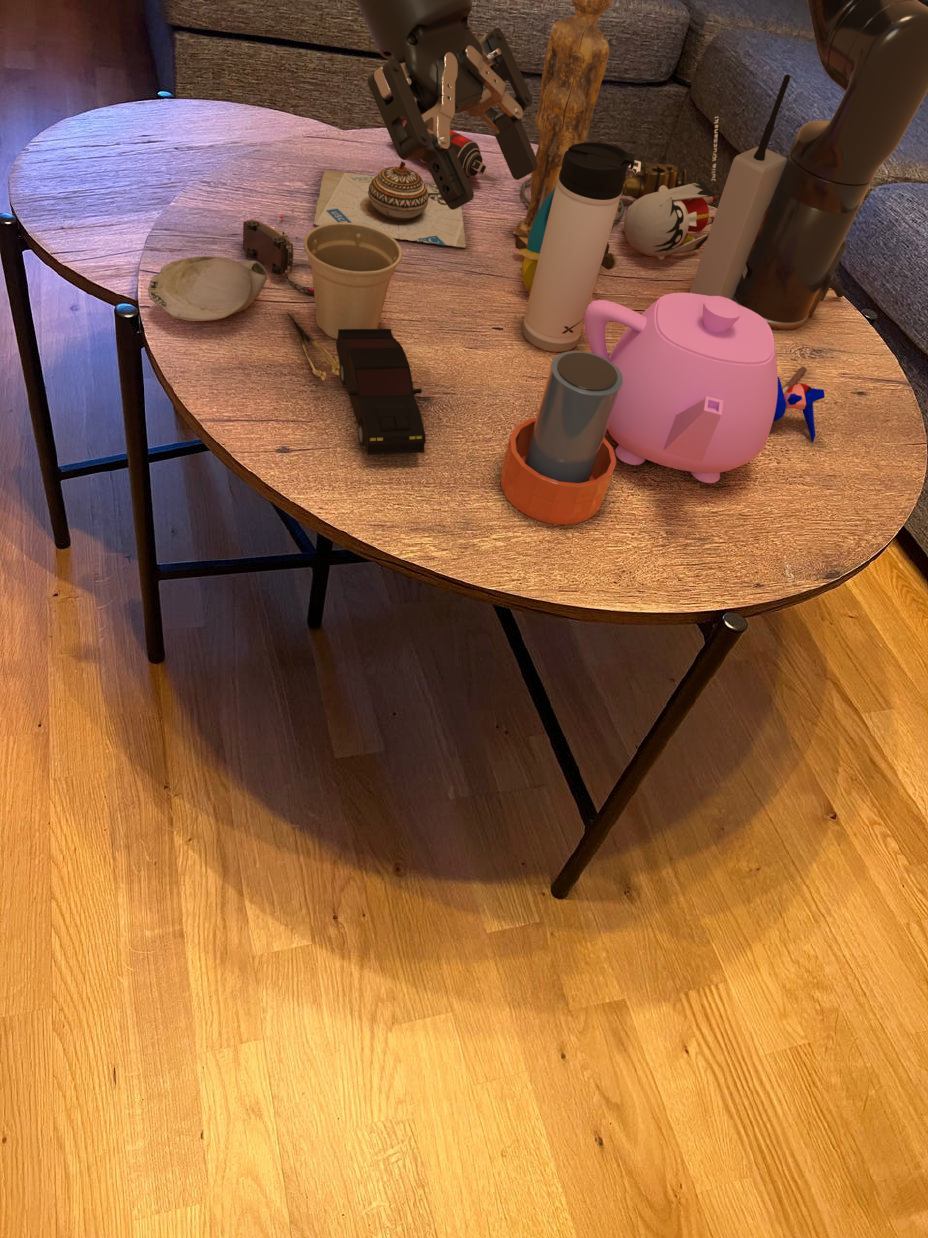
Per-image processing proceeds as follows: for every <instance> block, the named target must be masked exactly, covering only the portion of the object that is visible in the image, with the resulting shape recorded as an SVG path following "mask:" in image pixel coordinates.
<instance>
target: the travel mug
mask: <svg viewBox="0 0 928 1238" xmlns="http://www.w3.org/2000/svg"><path fill="white" fill-rule="evenodd" d="M635 160H636V155H635V154H634V153H631V152H629V151H626V150H625V149H624V148H621V147H619V146H616V145H613V144H609V143H605V142H599V141H597V142H596V141H585V142H584V143H578V144H574V145H572V146H571V147H569V148H568V151H566V152H565V154H564V157H563V161H562V167H561V170H560V174H559V176H558V180H557V184H556V188H555V192H554V196H553V200H552V205H551V209H550V213H549V217H548V221H547V225H546V230H545V234H544V238H543V242H542V246H541V250H540V255H539V259H538V263H537V267H536V271H535V276H534V280H533V284H532V288H531V292H530V294H529V296H528V301H527V305H526V308H525V309H526V310H525V315H524V317H523V321H522V326H521V332H522V335H523V336H524V338H525V339H526V340H527V342H529V343H530V344H531V345H533V346H534V347H536V348H539V349H541V350H544V351H547V352H554V353H564V352H568V351H572V349H574V348H576V346H577V345H578V344H579V341H580V338H581V335H582V331H583V329H584V314H585V310H586V308H587V306H588V305H589V304H590V303H591V302H592V297H593V294H594V290H595V286H596V283H597V279H598V277H599V273H600V270H601V267H602V266H601V263H602V260H603V256H604V253H605V250H606V246H607V243H609V239H610V235H611V232H612V230H613V225H614V223H615V222H614V219H615V218H616V214H617V213H618V210H619V209H618V205H620V203H619V202H620V198H622V196H623V195H622V189H623V184H624V182H625V179H626V170H627V167H628V166H630V164H631V167H630V169H633V167H634V162H635ZM613 222H614V223H613Z"/></svg>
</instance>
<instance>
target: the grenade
mask: <svg viewBox="0 0 928 1238" xmlns="http://www.w3.org/2000/svg"><path fill="white" fill-rule="evenodd" d="M402 124H403V127H404V129H405V131H406V134H407V136H408V137H409V136H410V135H411V132H410V129H409V127H408V124H407V122H406V119H405V118H404V119H403V121H402ZM452 148H454V150H455V152H456V154H457V156H458V159H459V161H460V163H461V165H462V168H463V170H464V172H465V174H466V176H467V179H468V180H469V179H471V178H473V177H475V176H477V175H478V174H480V175H486V176H487V177H489V178H491V179H493V180H497V178H496V177H495V176H494V175H492V174H490V173H489V172H487V171H486V169H487V166H486V164H484V163H483V160H484V159H483V156H482V152H481V149H480V145H479V144H478V143H477V142H476V141H474V140H472V139H470V138H468V137H466V136H464V135H462V134H461V133H458V132H456V131H454V130H453V129H451V128H450V146H449V148H448V150H449V149H452Z"/></svg>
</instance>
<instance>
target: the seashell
mask: <svg viewBox="0 0 928 1238" xmlns="http://www.w3.org/2000/svg"><path fill="white" fill-rule="evenodd" d="M267 279H268V272H267V270H266V268H265V267H264V265H262V264H261V263H260V262H259V261H258V260H245V261H237V260H233V259H230V258H227V257H219V256H213V255H201V256H193V257H187V258H182V259H178V260H174V261H171V262H169V263H167V264H165V265H163V266H162V267H161V268H160V271H159V273H158V274H154V275H153V276H152V277H151V279H150V281H149V284H148V287H147V294H148V297H149V299H150V300H151V302H153V303H154V304H156V305H158V306H159V307H161V308H162V309H163V310H164V311H165V312H166V313H167V315H168V316H169V317H171V318H174V319H179V320H184V321H189V322H205V321H206V322H207V321H217V320H221V319H222V320H223V319H225V318H227V317H229V316H230V315H234V314H237V313H240V312H242V311H243V310H245V309H247V308H248V307H249V306H250V305H252V304H253V302H255V300H256V299H257V298H258V297H259V295H260V294H261V292H262V290H263V288H264V286H265V285H266V282H267Z"/></svg>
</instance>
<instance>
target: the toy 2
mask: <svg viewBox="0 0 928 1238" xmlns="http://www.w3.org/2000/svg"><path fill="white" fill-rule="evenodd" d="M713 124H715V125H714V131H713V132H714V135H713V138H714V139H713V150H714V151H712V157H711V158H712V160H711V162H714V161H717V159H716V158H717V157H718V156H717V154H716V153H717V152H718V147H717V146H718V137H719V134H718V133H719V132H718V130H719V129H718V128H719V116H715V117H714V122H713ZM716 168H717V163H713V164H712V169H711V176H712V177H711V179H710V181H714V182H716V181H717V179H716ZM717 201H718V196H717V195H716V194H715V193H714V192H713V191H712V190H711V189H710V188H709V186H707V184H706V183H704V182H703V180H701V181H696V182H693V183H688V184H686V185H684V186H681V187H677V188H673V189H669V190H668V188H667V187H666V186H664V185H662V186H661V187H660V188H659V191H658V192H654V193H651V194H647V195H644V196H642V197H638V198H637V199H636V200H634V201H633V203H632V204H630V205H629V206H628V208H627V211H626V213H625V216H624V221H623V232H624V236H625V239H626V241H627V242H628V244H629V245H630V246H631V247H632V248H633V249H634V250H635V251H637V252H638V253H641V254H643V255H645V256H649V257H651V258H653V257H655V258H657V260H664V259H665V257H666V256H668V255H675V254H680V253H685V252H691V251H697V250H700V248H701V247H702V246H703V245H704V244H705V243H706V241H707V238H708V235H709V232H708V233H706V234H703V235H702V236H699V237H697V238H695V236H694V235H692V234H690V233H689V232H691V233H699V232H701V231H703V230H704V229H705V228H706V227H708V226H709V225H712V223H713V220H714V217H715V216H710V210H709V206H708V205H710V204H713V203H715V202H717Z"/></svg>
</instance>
